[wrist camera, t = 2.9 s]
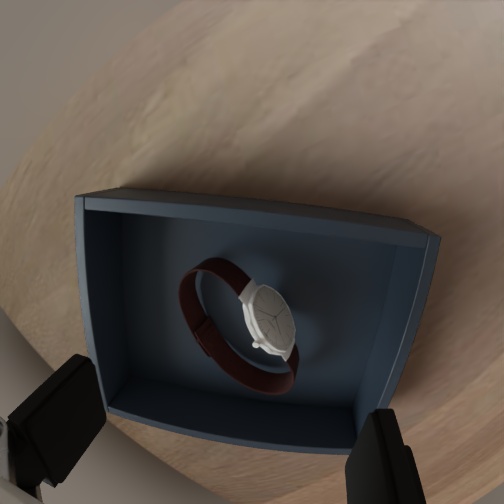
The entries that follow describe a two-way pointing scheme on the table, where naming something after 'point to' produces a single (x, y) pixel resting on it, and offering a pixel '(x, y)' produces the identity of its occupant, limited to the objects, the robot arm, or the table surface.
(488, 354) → the table surface
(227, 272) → the watch
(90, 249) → the tray
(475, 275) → the table surface
